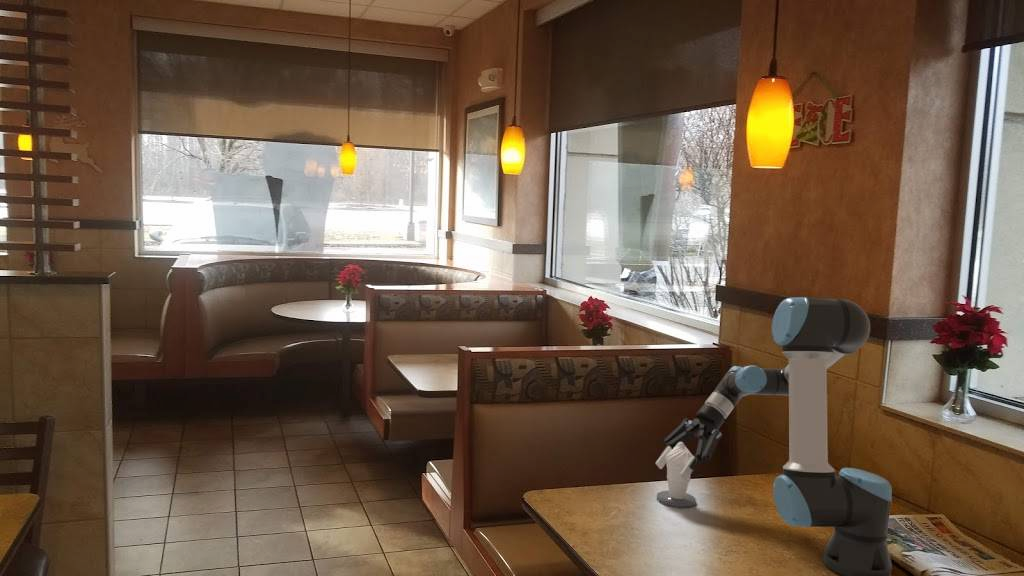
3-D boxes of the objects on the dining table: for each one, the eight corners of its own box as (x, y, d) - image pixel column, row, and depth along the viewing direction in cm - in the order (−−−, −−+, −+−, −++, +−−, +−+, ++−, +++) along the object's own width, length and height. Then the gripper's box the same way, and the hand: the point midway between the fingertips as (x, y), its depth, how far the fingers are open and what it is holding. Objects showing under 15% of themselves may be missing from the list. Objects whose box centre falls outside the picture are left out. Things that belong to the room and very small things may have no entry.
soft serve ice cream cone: (691, 503, 228) (696, 447, 227) (661, 499, 229) (666, 444, 228) (691, 494, 236) (695, 440, 235) (662, 490, 238) (666, 437, 236)
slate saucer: (689, 511, 225) (689, 507, 225) (651, 502, 231) (651, 498, 230) (700, 499, 235) (700, 496, 235) (663, 491, 240) (664, 487, 240)
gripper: (749, 429, 229) (704, 491, 222) (693, 410, 248) (650, 467, 241) (737, 413, 226) (691, 475, 219) (682, 395, 244) (638, 452, 237)
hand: (670, 471), depth 230 cm, fingers open, 9 cm apart
